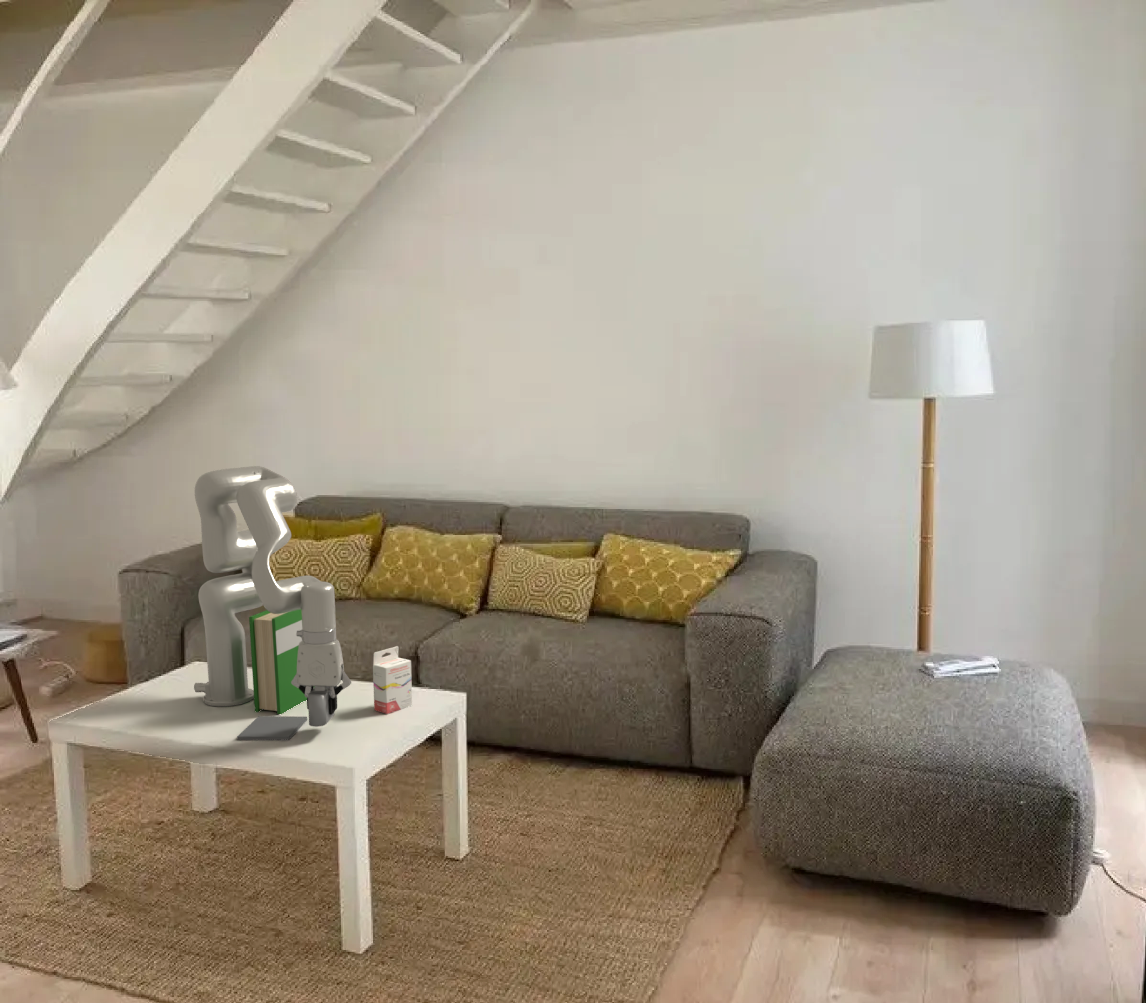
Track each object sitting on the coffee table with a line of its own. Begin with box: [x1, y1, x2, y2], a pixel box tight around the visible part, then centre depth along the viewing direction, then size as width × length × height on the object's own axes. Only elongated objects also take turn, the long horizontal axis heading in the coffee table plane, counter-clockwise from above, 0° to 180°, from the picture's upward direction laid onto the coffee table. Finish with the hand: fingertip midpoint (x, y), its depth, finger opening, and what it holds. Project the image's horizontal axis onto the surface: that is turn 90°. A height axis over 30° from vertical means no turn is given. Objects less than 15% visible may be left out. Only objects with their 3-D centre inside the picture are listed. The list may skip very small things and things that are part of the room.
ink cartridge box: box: [372, 645, 413, 715], centre depth 281 cm, size 9×5×15 cm, turn 141°
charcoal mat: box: [236, 715, 308, 741], centre depth 268 cm, size 12×14×1 cm
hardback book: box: [248, 609, 315, 715], centre depth 287 cm, size 18×7×24 cm, turn 160°
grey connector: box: [307, 686, 335, 728], centre depth 264 cm, size 4×10×9 cm, turn 176°
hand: (322, 711), depth 265 cm, fingers closed on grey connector, 4 cm apart
